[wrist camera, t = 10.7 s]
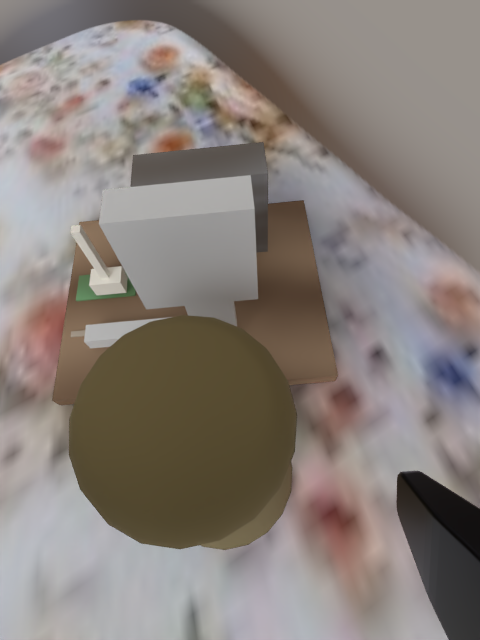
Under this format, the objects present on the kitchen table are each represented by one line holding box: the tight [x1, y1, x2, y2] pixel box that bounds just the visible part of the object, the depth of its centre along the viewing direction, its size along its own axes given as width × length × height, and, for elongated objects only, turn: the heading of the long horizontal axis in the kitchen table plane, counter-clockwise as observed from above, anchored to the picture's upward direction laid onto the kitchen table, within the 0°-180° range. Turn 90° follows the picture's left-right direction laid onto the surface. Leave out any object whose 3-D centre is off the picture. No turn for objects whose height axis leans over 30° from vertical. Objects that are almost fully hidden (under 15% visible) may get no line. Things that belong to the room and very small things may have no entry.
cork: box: [69, 315, 297, 550], centre depth 13 cm, size 6×6×11 cm
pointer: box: [70, 225, 128, 295], centre depth 19 cm, size 1×2×5 cm, turn 94°
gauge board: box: [52, 142, 338, 405], centre depth 19 cm, size 11×14×6 cm
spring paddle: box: [84, 175, 258, 348], centre depth 15 cm, size 2×8×10 cm, turn 94°
